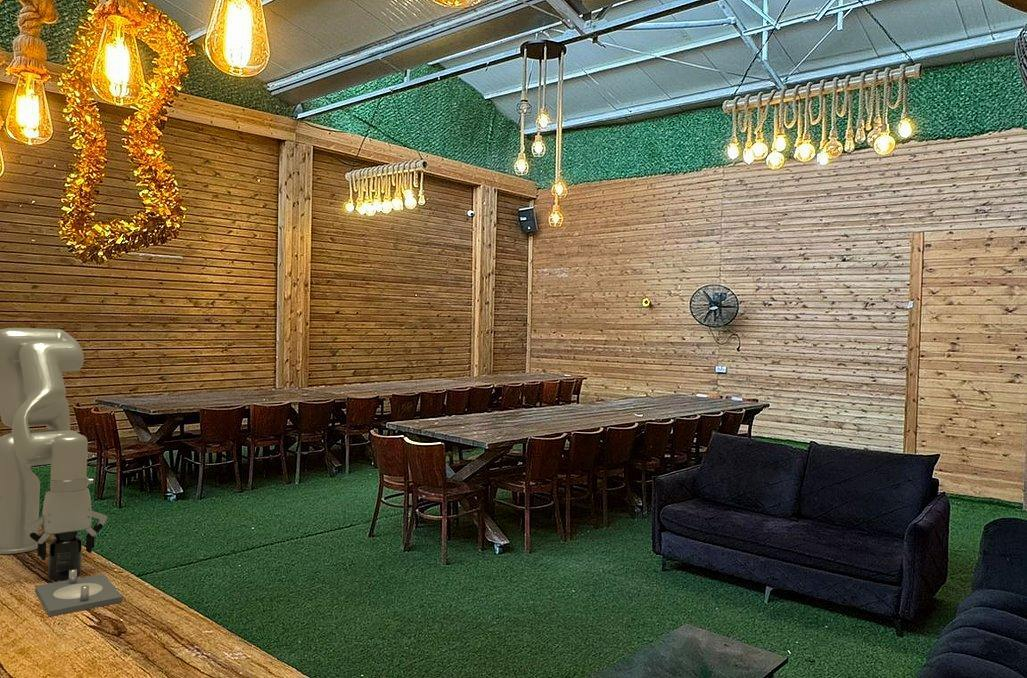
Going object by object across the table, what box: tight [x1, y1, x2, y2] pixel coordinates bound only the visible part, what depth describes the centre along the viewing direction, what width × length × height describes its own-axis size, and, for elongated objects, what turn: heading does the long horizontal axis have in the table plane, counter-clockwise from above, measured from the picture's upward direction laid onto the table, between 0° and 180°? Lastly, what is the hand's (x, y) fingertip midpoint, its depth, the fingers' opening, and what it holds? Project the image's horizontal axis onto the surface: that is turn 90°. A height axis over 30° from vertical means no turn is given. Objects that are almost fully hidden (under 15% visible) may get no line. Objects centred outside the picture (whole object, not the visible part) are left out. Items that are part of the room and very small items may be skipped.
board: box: [34, 569, 123, 618], centre depth 161 cm, size 18×14×4 cm
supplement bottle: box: [47, 531, 83, 581], centre depth 173 cm, size 7×7×12 cm
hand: (66, 555), depth 172 cm, fingers open, 9 cm apart
